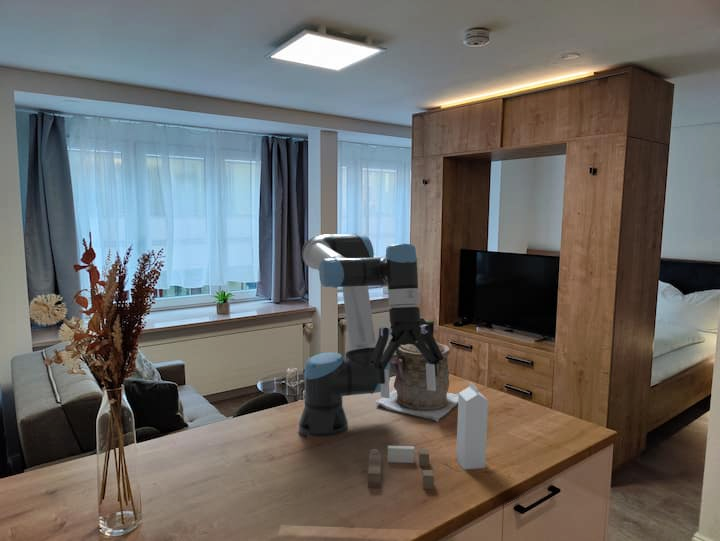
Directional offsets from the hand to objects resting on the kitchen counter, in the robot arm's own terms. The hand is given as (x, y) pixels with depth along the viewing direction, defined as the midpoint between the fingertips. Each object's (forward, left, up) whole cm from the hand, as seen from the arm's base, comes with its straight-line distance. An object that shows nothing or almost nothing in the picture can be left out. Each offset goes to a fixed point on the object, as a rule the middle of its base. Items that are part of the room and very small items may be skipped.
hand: (409, 393), depth 118 cm
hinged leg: (-8, +1, -22) cm, 23 cm away
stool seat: (-2, +2, -23) cm, 24 cm away
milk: (+18, +11, -24) cm, 32 cm away
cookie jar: (+8, +52, -24) cm, 58 cm away
